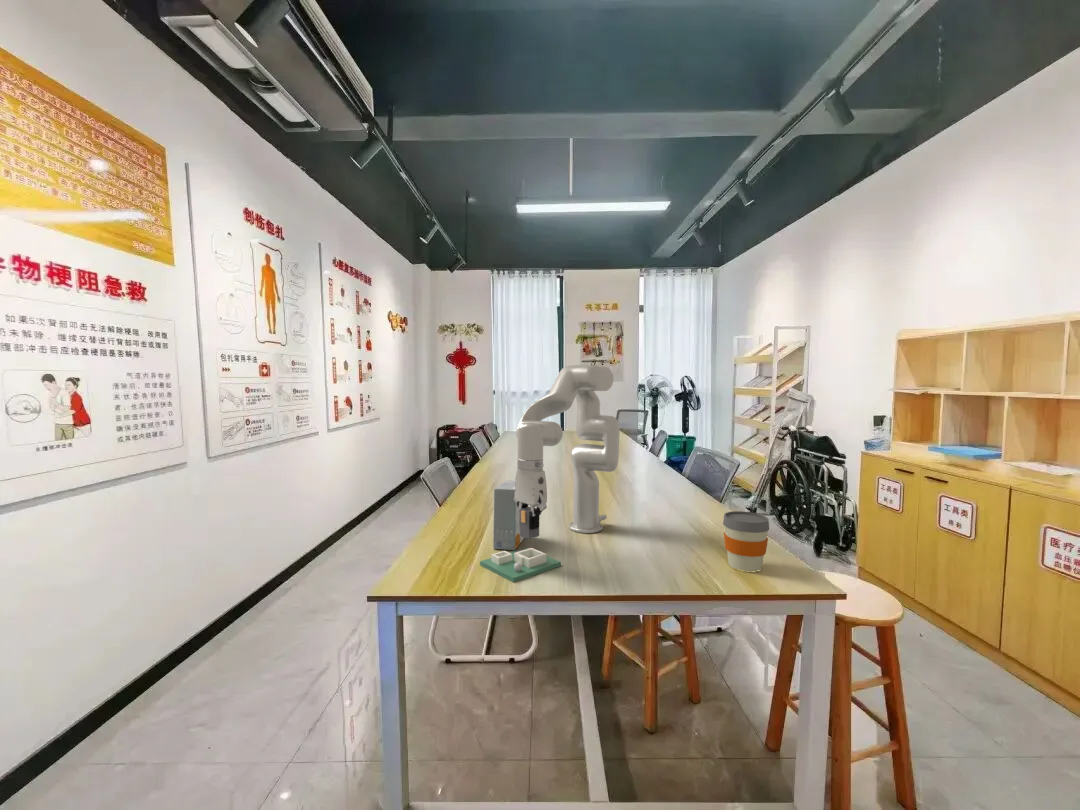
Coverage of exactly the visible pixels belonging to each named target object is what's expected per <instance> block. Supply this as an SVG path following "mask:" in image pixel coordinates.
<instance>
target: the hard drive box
mask: <svg viewBox="0 0 1080 810" xmlns="http://www.w3.org/2000/svg"><path fill="white" fill-rule="evenodd" d="M514 496H515V480H513V479H512V480H510V479H507V480H505V481H504V482H502V483H501V484H499V485H498V486H497V487H495V488H494V489H493V524H492V525H493V528H492V529H493V530H492V532H493V533H492V534H493V535H492V549H495V550H503V551H506V550H507V551H516V550H517V549H518V547H519V545H520V544H521V543H522V541H523V540H524V539H525V538H524V537H522V536H520V525H519V524H520V512H519V511H518V506H517V503H516V502H515V501H514ZM524 505H525V504H524Z"/></svg>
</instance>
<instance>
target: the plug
mask: <svg viewBox="0 0 1080 810" xmlns="http://www.w3.org/2000/svg"><path fill="white" fill-rule="evenodd" d="M536 508H537V507H535V510H536ZM530 516H532V515H531V506H528V507H526V508H522V509H520V536H522V537H524V539H527V540H531V539H534V538H537V537H540V527H539V528H537V529H533V530H531V529H530Z"/></svg>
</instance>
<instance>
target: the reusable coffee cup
mask: <svg viewBox="0 0 1080 810" xmlns="http://www.w3.org/2000/svg"><path fill="white" fill-rule="evenodd" d="M722 525H723V526H724V527H723V528H724V532H723V538H724V540H723V541H724V548H725V550H726V552H727V562H728V566H729V565H730V566H731V567H733V568H736V569H740V570H745V571H757V570H760V569H761V570H762V568H763V567H762V566H763V562H764V556H765V555H766V553H767V547H768V542H769V538H768V532H769V530H770V522H769V518H768V517H767V516H766V515H763V514H761V513H756V512H751V511H750V512H749V511H742V510H741V511H740V510H739V511H738V510H737V511H736V510H735V511H727V512H724V514H723V521H722ZM730 566H729V567H730ZM731 567H730V568H731Z"/></svg>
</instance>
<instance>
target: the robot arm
mask: <svg viewBox="0 0 1080 810" xmlns="http://www.w3.org/2000/svg"><path fill="white" fill-rule="evenodd" d="M613 384H614V374H613V371H612V370H611V369H610V368H609V367H607V366H601V365H600V366H599V365H593V364H592V365H591V364H590V365H589V364H585V365H584V364H582V365H581V364H580V365H579V364H576V365H575V364H574V365H567V366H564V367H563V368H561V369H560V370H559V373H558V375H557V376H556V378H555V380H554V383H553V384H552V386H551V388H550V390H549V392H548V393H547V394H546V395H545V396H542V397H541V398H540V399H538V400H536V401H534V402H533V403H532V404H531V405H530V406H529V407H528V408H527V409H526V410H525V411H524V412H523V415H522V416H521V418H520V419H519V420H520V421H518V423H517V426H516V437H517V468H516V472H515V480H514V481H515V496H514V501H515V502H516V503H517V506H518V511H519V512H520V509H522V508H526V507H531V515H532V516H530V529H531V530H533V529H537V528H539V529H540V516H541V515H542V512H543V511H544V510H546V509H547V508H548V505H547V502H548V491H547V490H548V487H547V486H548V485H547V478H546V477H547V476H546V471H545V470H544V446H545V447H554V446H557V445H558V444H560V442H561V441H562V439H563V435H564V433H563V431H564V430H563V428H562V427H561V425H560V424H558V423H557V422H555V421H550V420H549V421H548V420H547V421H546V420H545V419H548V418H549V417H553V416H556V415H559V414H562V413H564V412H566V411H569V410H570V408H571V407H572V406H573V403H574V400H576V424H575V425H576V436H577V438H579V439H581V440H584V441H593V442H594V441H595V442H602V443H603V444H593V443H592V444H591V443H579V444H576V445H575V446H574V447H572V449H571V452H570V460H571V465H572V473H573V475H572V478H573V479H572V480H573V485H572V487H573V490H572V491H573V493H572V494H573V500H572V501H573V503H572V505H573V508H572V509H573V511H572V512H573V513H572V514H573V516H572V517H573V518H572V519H573V520H572V521H571V522H569V524H568V528H569V530H570V531H573V532H576V533H581V534H595V533H599V532H602V530H604V529H603V528H604V525H603V524H602V523H601V522H602V521H605V520H607V515H606V514H604V513H603V514H600V511H599V510H600V508H599V507H600V502H599V501H600V481H599V478H598V475H597V473H596V472H604V473H605V472H606V473H611V472H614V471H616V469H617V468H618V464H619V457H620V455H619V454H620V423H619V421H618V419H617V418H616V417H614V416H612V415H607V414H606V415H605V414H604V415H601V402H600V398H599V396H598V395H597V394H596V392H606V391H610V389H611V388H612V387H613ZM524 504H525V505H524ZM535 508H536V510H535ZM519 525H520V524H519Z"/></svg>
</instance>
